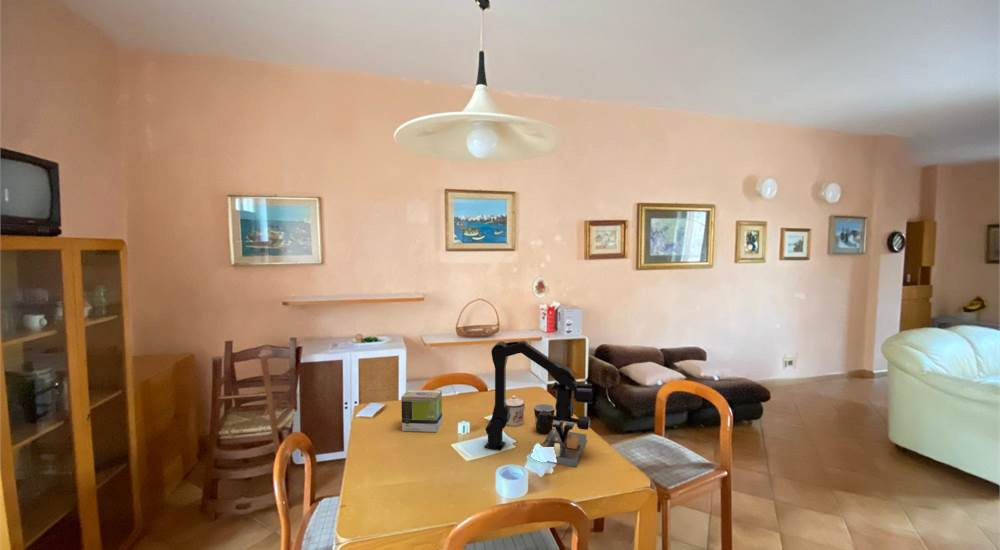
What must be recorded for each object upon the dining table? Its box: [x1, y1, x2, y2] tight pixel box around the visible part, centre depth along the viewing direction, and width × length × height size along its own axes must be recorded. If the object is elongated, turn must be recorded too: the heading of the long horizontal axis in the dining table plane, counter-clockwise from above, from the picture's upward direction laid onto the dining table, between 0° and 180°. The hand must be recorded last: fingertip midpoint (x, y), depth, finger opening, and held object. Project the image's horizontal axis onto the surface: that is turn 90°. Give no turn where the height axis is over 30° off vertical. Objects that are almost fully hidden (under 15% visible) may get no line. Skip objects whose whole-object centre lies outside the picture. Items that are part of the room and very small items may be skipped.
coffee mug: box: [533, 403, 556, 436], centre depth 174 cm, size 12×9×10 cm
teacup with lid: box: [506, 395, 526, 427], centre depth 182 cm, size 12×9×12 cm
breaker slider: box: [567, 434, 578, 449], centre depth 153 cm, size 4×4×4 cm
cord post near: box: [554, 443, 560, 457], centre depth 146 cm, size 2×2×4 cm
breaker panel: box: [541, 428, 587, 468], centre depth 156 cm, size 22×14×3 cm, turn 159°
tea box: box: [400, 389, 443, 433], centre depth 176 cm, size 15×10×15 cm
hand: (563, 442), depth 154 cm, fingers closed
